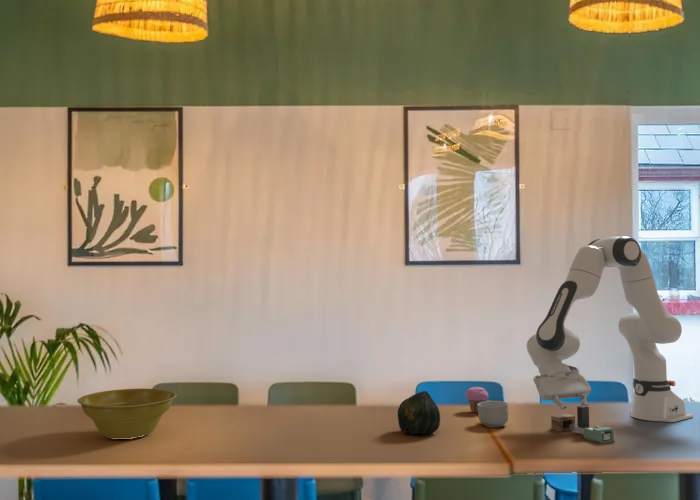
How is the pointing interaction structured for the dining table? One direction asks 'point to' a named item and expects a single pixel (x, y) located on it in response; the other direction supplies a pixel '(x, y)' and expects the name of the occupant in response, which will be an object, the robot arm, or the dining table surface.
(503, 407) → the teacup
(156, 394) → the planter bowl
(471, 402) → the cupcake
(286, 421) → the dining table surface
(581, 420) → the two-tone rectangular rod
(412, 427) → the squash
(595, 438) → the green slotted block
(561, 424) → the socket block
